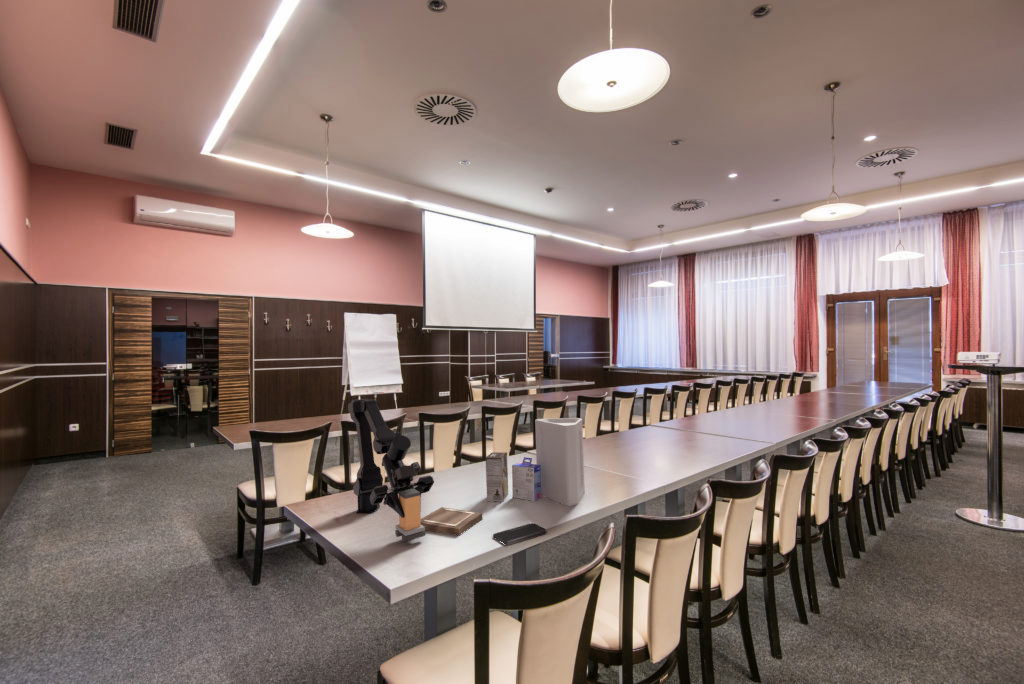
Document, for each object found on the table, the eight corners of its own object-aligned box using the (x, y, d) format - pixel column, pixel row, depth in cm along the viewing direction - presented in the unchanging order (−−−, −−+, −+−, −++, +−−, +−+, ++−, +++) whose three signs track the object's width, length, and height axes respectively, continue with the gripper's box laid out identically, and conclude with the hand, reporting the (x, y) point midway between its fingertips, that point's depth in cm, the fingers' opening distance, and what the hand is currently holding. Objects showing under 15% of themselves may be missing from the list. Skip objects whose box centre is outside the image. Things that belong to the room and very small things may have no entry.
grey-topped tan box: (395, 535, 133) (394, 491, 133) (415, 529, 137) (414, 486, 137) (405, 543, 127) (404, 497, 128) (425, 537, 131) (424, 492, 131)
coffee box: (492, 493, 174) (491, 451, 174) (508, 494, 172) (507, 452, 173) (486, 501, 165) (485, 457, 165) (503, 502, 163) (502, 457, 164)
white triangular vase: (599, 498, 165) (597, 421, 165) (568, 506, 157) (565, 425, 157) (566, 485, 181) (564, 415, 181) (536, 492, 173) (534, 419, 173)
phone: (548, 530, 134) (505, 543, 127) (548, 534, 134) (505, 547, 127) (533, 522, 141) (491, 533, 133) (533, 526, 141) (491, 537, 133)
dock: (416, 528, 142) (415, 521, 142) (441, 513, 154) (441, 506, 154) (459, 535, 135) (459, 528, 135) (482, 519, 147) (482, 512, 147)
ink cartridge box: (542, 497, 167) (541, 458, 168) (535, 501, 163) (533, 461, 163) (519, 493, 173) (518, 455, 173) (512, 497, 168) (510, 458, 168)
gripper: (372, 459, 130) (388, 508, 121) (430, 449, 141) (449, 493, 132) (363, 481, 136) (377, 528, 127) (420, 469, 147) (437, 512, 138)
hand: (411, 515), depth 131 cm, fingers closed on grey-topped tan box, 5 cm apart
